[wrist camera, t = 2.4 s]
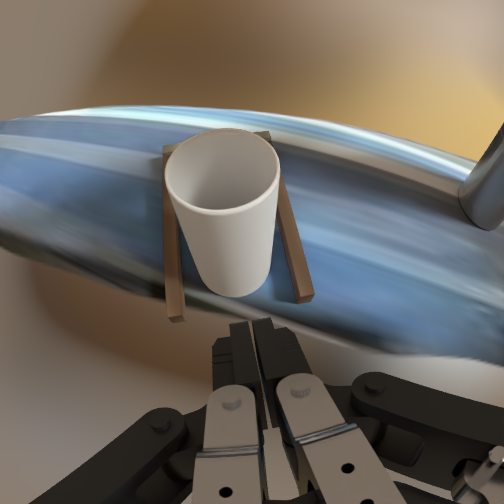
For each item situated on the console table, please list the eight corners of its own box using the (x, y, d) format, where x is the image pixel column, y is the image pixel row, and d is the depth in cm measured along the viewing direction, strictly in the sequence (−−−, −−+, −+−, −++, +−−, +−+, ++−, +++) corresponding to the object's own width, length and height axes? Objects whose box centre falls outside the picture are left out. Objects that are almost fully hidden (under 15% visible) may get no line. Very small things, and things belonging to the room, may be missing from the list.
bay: (268, 146, 44) (268, 131, 41) (310, 301, 33) (315, 292, 30) (167, 160, 43) (162, 146, 40) (173, 323, 32) (166, 315, 29)
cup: (266, 301, 33) (276, 218, 19) (192, 292, 34) (149, 208, 19) (273, 235, 37) (283, 131, 23) (205, 229, 37) (181, 126, 23)
